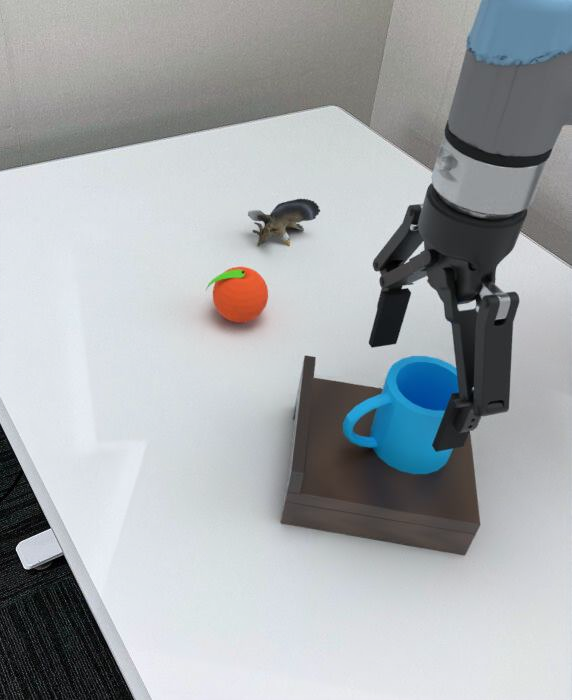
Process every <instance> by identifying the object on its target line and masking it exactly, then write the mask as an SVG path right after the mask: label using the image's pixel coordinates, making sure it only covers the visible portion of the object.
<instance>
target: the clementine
mask: <svg viewBox="0 0 572 700" xmlns="http://www.w3.org/2000/svg"><path fill="white" fill-rule="evenodd" d="M213 284H214V285H213ZM211 285H213V288H212V289H213V290H212V302H213V304H214V306H215V309H216V311H217V312H218V313H219V314H220V315H221V316H222V317H223V318H224V319H226V320H227V321H230V322H233V323H248V322H250V321H252V320H255V319H256V318H258V317H259V316H260V315H261V314H262V312H263V311H264V310H265V309H266V306H267V303H268V299H269V289H268V285H267V283H266V280H265V279H264V277H263V276H262V275H261V274H260V273H258V272H257V270H255V269H252V268H250V267H247V266H236V267H230V268H228V269H226V270H225V271H224V272H222V273H220V274H219V275H217V276H216V277H214V278H213V279H212V280H211V281H210V282H209V283H208V284H207V287H206V288H205V290H204V291H205V292H206V291H207V290H208V289H209V287H210V286H211Z"/></svg>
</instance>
